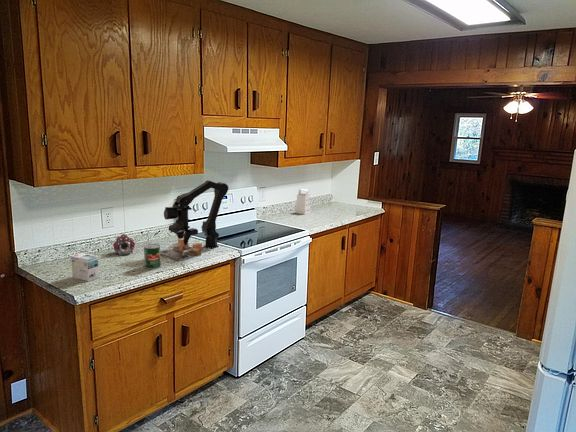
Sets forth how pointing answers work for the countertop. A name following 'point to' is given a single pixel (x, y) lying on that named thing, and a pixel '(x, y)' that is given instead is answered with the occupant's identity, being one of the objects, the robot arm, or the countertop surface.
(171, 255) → the flange plate
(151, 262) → the canned tomato
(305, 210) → the grater
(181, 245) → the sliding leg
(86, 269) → the light bulb box
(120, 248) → the maroon piece
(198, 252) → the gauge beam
